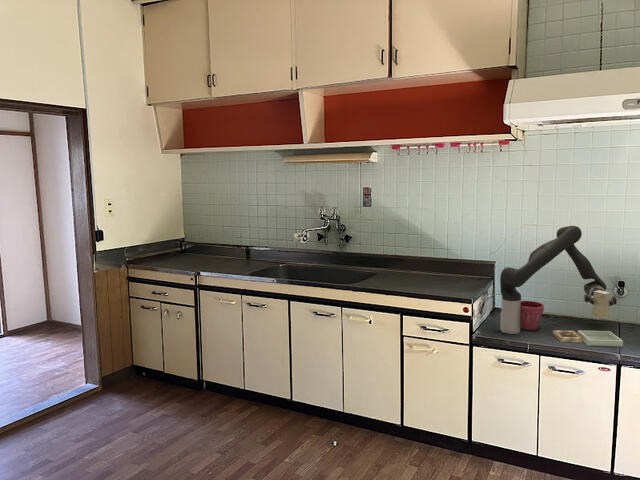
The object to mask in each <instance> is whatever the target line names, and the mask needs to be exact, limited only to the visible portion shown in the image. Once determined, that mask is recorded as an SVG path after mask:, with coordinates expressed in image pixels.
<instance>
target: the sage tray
mask: <svg viewBox="0 0 640 480" xmlns="http://www.w3.org/2000/svg"><path fill="white" fill-rule="evenodd" d="M577 334H578V335H579V336H580V337H581V338H583V339H582V343H585V345H586V346H587V347H596V348H597V347H599V348H600V347H601V348H602V347H603V348H606V347H607V348H609V347H610V348H623V347H624V340H622V339H621V338H620V337H618V336H617V335H615V334H614V333H613V332H612V331H610V330H577Z"/></svg>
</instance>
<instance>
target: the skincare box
mask: <svg viewBox="0 0 640 480" xmlns="http://www.w3.org/2000/svg"><path fill="white" fill-rule="evenodd" d="M611 294H612V292H610V291H609V292H608V291H606V292H605V291H601V290H598V291H594V295H593V300H594V305H592V316H593V317H597V318H600V319H607V318H610V310H611V309H610V308H611V306H610V298H611V297H612V296H611Z"/></svg>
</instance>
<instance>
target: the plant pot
mask: <svg viewBox="0 0 640 480" xmlns="http://www.w3.org/2000/svg"><path fill="white" fill-rule="evenodd" d="M544 310H545V305H544V304H543V303H541V302H539V301H532V300H521V317H520V329H523V330H528V331H533V330H537V329H538V327H539V325H540V321H541V317H542V314H543V313H544Z"/></svg>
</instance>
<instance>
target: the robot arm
mask: <svg viewBox="0 0 640 480" xmlns="http://www.w3.org/2000/svg"><path fill="white" fill-rule="evenodd" d="M582 234H583V232H582V229H581V227H579V226H576V225H569V226H563V227H560V228H559V229H558V230H557V231H556V238H554V239H552V240H549V241H547V242H546V243H543V244H541V245H540V246H539V247H537V248H535V249H534V250H533V251H532V252H531V253H530V255H529V256H528V257H529V258H528V260H527V262H526V263H525V264H524V265H523V266H521V267H519V268H514V267H505V268H503V269H502V271H501V273H500V279H499V280H500V281H499V282H500V283H499V284H500V286H499V287H500V295H501V311H500V317H499V318H500V319H499V321H500V324H499V326H500V327H499V330H500V331H501V333H502V334H503V333H504V334H510V335H516V334H517V335H518V334H520V333H521V328H520V317H521V301H522V295H521V294H522V293H520V292H519V291H518V290H517V288H520V287H522V286H524V284H526V283H527V282H528V281H529V280H530V279H531V278H532V277H533V276H534V274H536V273H537V272H539V271H540V270H541V269H543V267H545V266H546V265H548V264H549V263H551V262H552V260H553V259H555V258H556V257H558V256H559V255H560V254H561V253H562V252H564V251H565V252H566V254H567V255H568V256H569V258H570V259H571V261H572V262H573V264H574V265H575V267H576V269H577V271H578V273H579V275H580V276H581V279H583V280H593V281H590V282H588V283H585V284H584V285H583V291H584V293H585V294H584V295H583V300H584V302H585V303H589V304H591V305H592V306H593V305H594V300H593V295H594V291H598V290H601V291H605V292H607V284H606V283H605V282H604V280H602V279H601V277H599V275H598V274H597V273H596V270H595V269H594V267H593V265H592V263H591V262H590V260H589V259H588V258H587V257H586V256H585V255H584V254H583V253H582V252H581V251H580V250H579V249H578V248H577V247H576V245H575V244H576V243H577V242H579V241H580V240H581V238H582ZM617 301H618V299H617V297H616V296H615V295H613V296H611V297H610V307H612V306H614V305H617Z"/></svg>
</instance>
